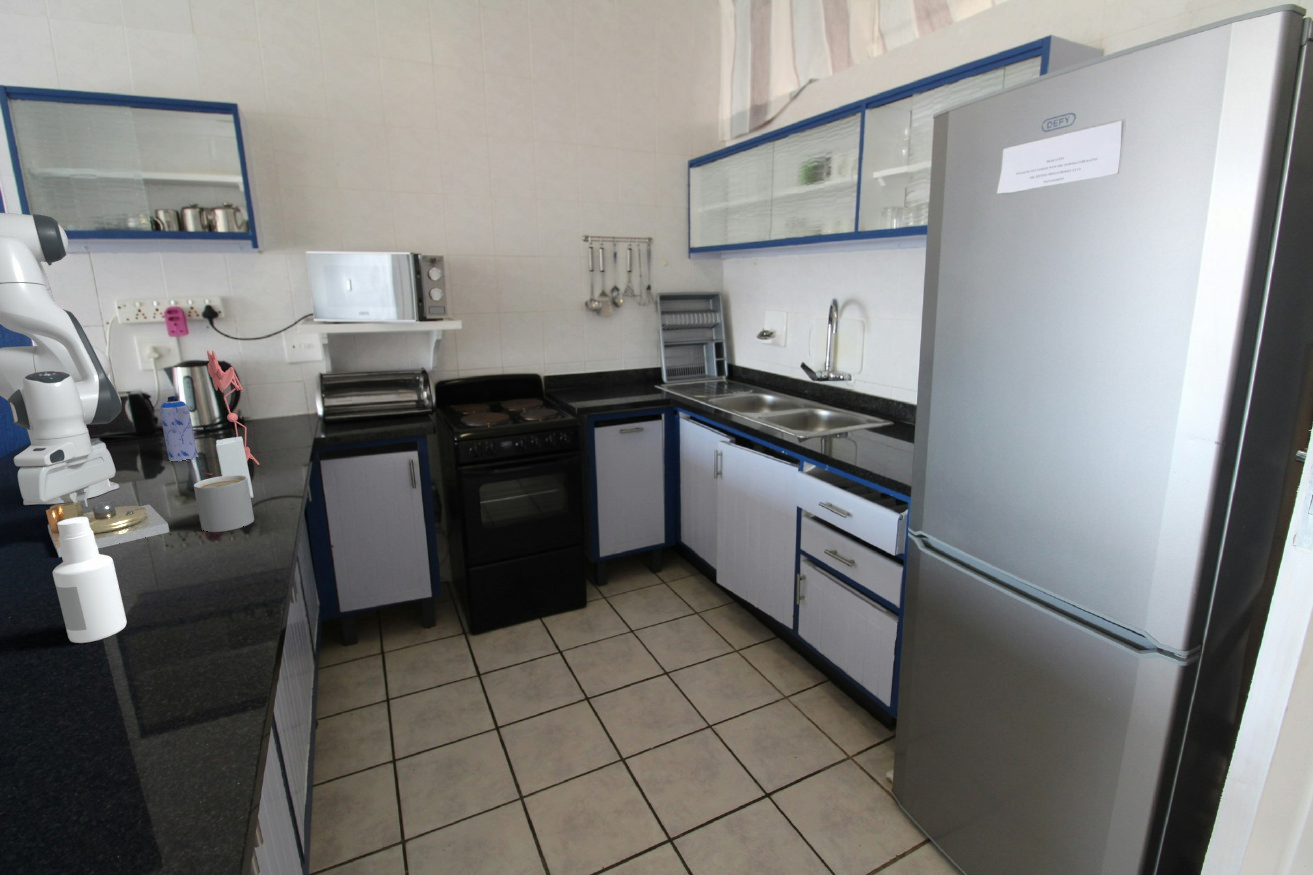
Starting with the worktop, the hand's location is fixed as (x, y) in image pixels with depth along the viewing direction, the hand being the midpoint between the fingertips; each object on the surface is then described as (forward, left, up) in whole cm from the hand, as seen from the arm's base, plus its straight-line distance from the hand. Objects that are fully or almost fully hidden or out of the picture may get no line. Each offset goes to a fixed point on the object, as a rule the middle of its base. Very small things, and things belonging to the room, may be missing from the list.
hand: (78, 509), depth 142 cm
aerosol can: (-63, +31, -5) cm, 71 cm away
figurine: (-39, +38, -5) cm, 55 cm away
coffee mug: (+18, +23, -5) cm, 30 cm away
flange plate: (+5, +3, -3) cm, 7 cm away
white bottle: (+61, -4, -5) cm, 61 cm away
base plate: (+6, +4, -5) cm, 9 cm away
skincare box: (-2, +31, -5) cm, 31 cm away
